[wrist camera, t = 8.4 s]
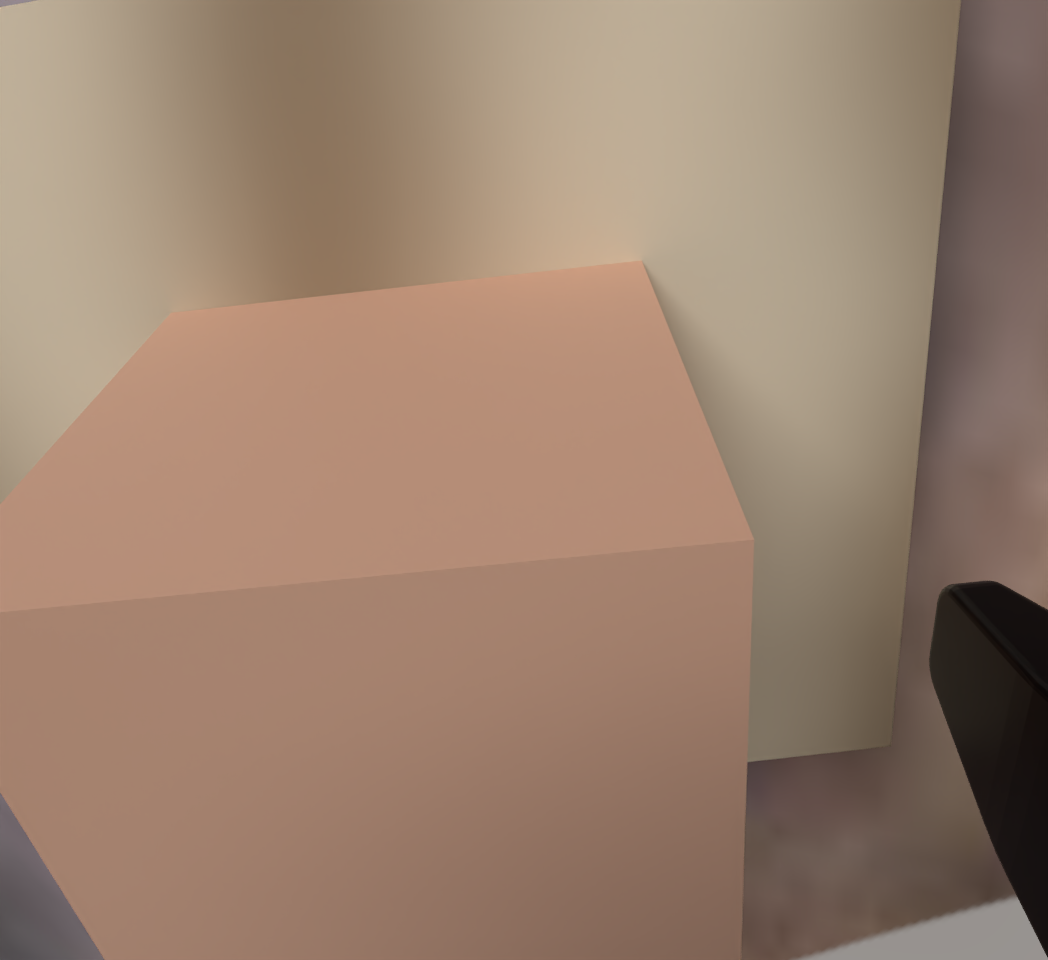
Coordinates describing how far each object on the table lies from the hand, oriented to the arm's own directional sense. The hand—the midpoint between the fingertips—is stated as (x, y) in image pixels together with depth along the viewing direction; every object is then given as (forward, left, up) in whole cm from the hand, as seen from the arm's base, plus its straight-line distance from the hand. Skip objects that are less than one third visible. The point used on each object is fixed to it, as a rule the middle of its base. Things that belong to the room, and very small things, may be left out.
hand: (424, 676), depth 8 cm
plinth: (0, 0, -6) cm, 6 cm away
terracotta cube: (0, 0, -3) cm, 3 cm away
